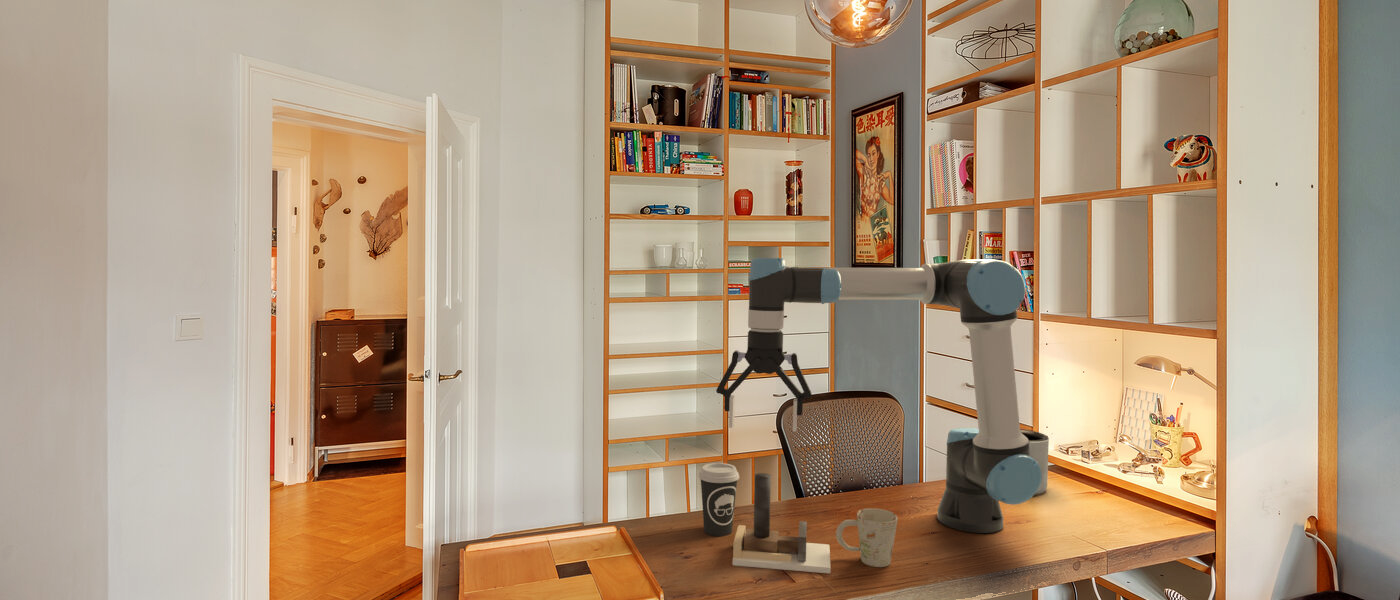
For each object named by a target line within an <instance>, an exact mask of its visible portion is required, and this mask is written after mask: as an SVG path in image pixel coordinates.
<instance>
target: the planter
mask: <svg viewBox="0 0 1400 600" xmlns="http://www.w3.org/2000/svg"><path fill="white" fill-rule="evenodd" d="M1020 432H1021V433H1022V434H1023V435H1024V436H1025V437H1027V438H1028V441H1029V451H1030V457H1032V458H1033V459H1035V461H1036V462H1037V463H1038V464H1039V466H1040V468H1041V471H1042V481H1041V485H1040V487H1039V489H1038V491H1037V492H1036V493H1034V495H1033V496H1037V495H1041V494H1043V493H1045V492H1046V491H1047V490H1048V475H1049V473H1048V472H1049V471H1048V470H1049V444H1050V443H1049V440H1050V438H1049V436H1047V435H1046V434H1045V433H1042V432H1039V431H1035V430H1030V429H1025V428H1020Z"/></svg>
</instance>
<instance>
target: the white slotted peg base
mask: <svg viewBox="0 0 1400 600" xmlns="http://www.w3.org/2000/svg"><path fill="white" fill-rule="evenodd" d="M746 527H747V526H746V525H743V524H742V525H741V524H739V525H738V526H737V529H736V533H735V536H734V540H733V543H732V544H733V549H732V551H733V552H732V553H733V554H732V555H733V557H732V566H735V567H747V568H748V567H749V568H761V569H773V570H784V571H785V570H786V571H796V572H808V573H817V574H818V573H819V574H820V573H821V574H831V569H832V568H831V553H830V552H831V551H830V549H831V548H830V544H826V543H816V542H815V543H813V542H806V561H798V553H796V552H784V551H778V552H777V553H768V552H756V551H744V537H745V533H746V529H747V528H746Z"/></svg>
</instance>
